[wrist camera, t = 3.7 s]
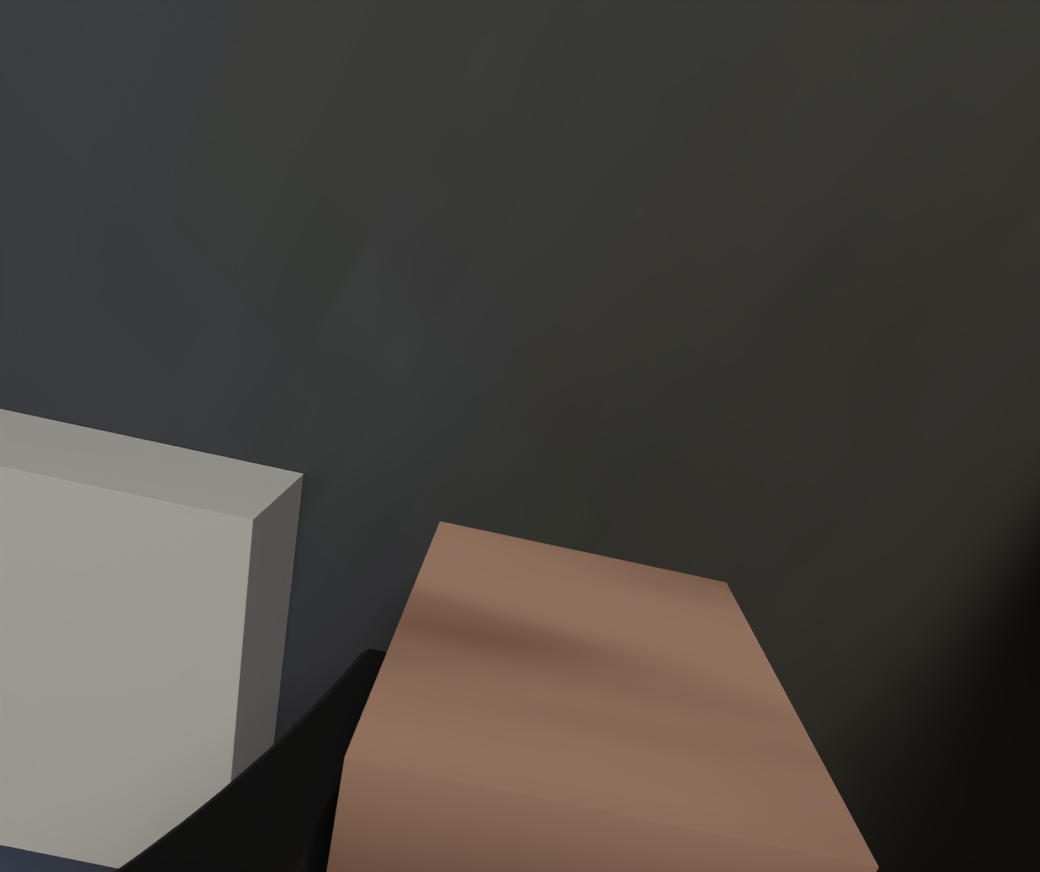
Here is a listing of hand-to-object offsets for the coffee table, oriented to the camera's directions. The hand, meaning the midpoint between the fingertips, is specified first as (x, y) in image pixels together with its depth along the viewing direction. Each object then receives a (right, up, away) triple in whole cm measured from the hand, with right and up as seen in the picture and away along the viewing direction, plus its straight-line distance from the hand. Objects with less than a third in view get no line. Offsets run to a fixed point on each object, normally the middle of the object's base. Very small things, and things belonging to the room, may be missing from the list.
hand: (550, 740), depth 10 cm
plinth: (-14, -1, +9) cm, 16 cm away
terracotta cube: (0, +1, +1) cm, 2 cm away
